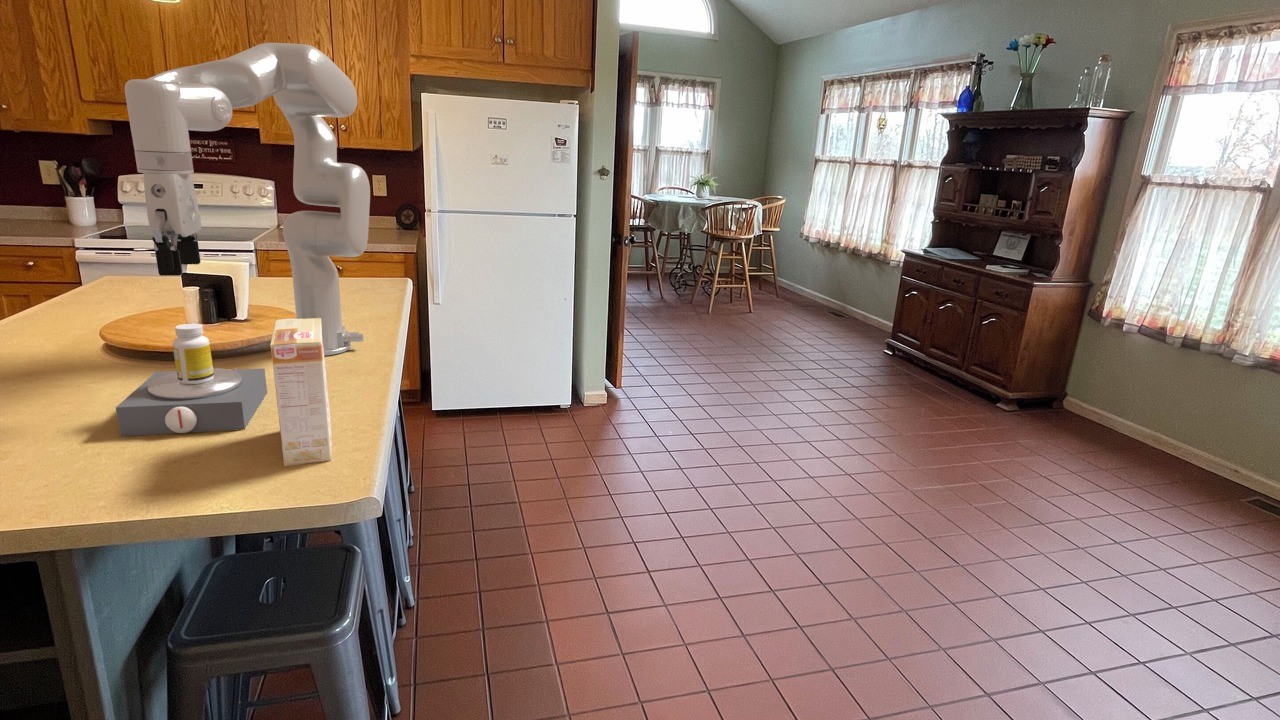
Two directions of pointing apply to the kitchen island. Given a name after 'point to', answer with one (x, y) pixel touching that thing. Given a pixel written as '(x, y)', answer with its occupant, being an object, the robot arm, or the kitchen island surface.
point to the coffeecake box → (301, 390)
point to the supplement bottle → (192, 355)
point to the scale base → (192, 408)
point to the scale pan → (194, 386)
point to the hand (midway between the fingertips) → (180, 269)
